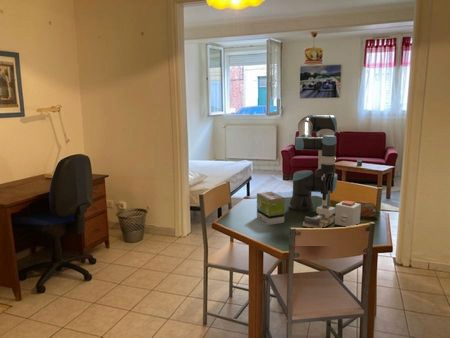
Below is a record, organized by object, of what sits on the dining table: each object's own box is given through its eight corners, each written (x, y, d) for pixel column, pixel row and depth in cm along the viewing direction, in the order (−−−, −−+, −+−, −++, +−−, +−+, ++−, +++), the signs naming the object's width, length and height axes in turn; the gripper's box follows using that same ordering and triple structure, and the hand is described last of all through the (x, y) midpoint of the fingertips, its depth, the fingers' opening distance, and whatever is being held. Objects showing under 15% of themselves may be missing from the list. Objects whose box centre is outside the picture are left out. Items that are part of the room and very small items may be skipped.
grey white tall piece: (329, 218, 213) (330, 192, 211) (316, 216, 218) (317, 190, 216) (334, 215, 219) (336, 190, 216) (321, 213, 224) (323, 188, 221)
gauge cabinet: (334, 224, 212) (335, 204, 210) (342, 219, 220) (343, 200, 218) (352, 228, 205) (353, 208, 203) (359, 223, 213) (360, 203, 211)
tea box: (256, 217, 224) (256, 192, 221) (271, 215, 228) (271, 191, 225) (268, 225, 210) (269, 199, 208) (284, 222, 214) (285, 197, 212)
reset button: (341, 207, 211) (342, 202, 210) (345, 205, 215) (345, 200, 214) (350, 209, 208) (351, 203, 207) (354, 207, 211) (354, 202, 211)
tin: (349, 215, 228) (350, 201, 227) (349, 213, 231) (350, 199, 230) (376, 217, 223) (377, 203, 221) (376, 216, 226) (377, 202, 224)
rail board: (319, 229, 203) (320, 220, 202) (302, 225, 209) (302, 216, 208) (339, 218, 221) (339, 210, 220) (322, 215, 227) (323, 207, 226)
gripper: (327, 166, 205) (325, 209, 209) (340, 162, 217) (338, 202, 221) (314, 164, 209) (313, 206, 214) (328, 161, 221) (326, 200, 226)
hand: (326, 204), depth 217 cm, fingers closed on grey white tall piece, 3 cm apart
